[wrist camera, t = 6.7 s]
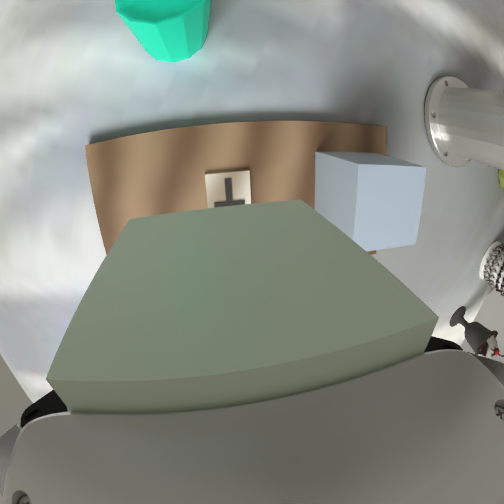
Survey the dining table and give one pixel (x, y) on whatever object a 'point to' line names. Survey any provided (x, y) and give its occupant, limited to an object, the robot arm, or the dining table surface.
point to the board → (215, 167)
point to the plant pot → (501, 177)
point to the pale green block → (232, 312)
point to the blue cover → (370, 197)
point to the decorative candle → (493, 266)
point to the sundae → (477, 335)
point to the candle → (167, 25)
